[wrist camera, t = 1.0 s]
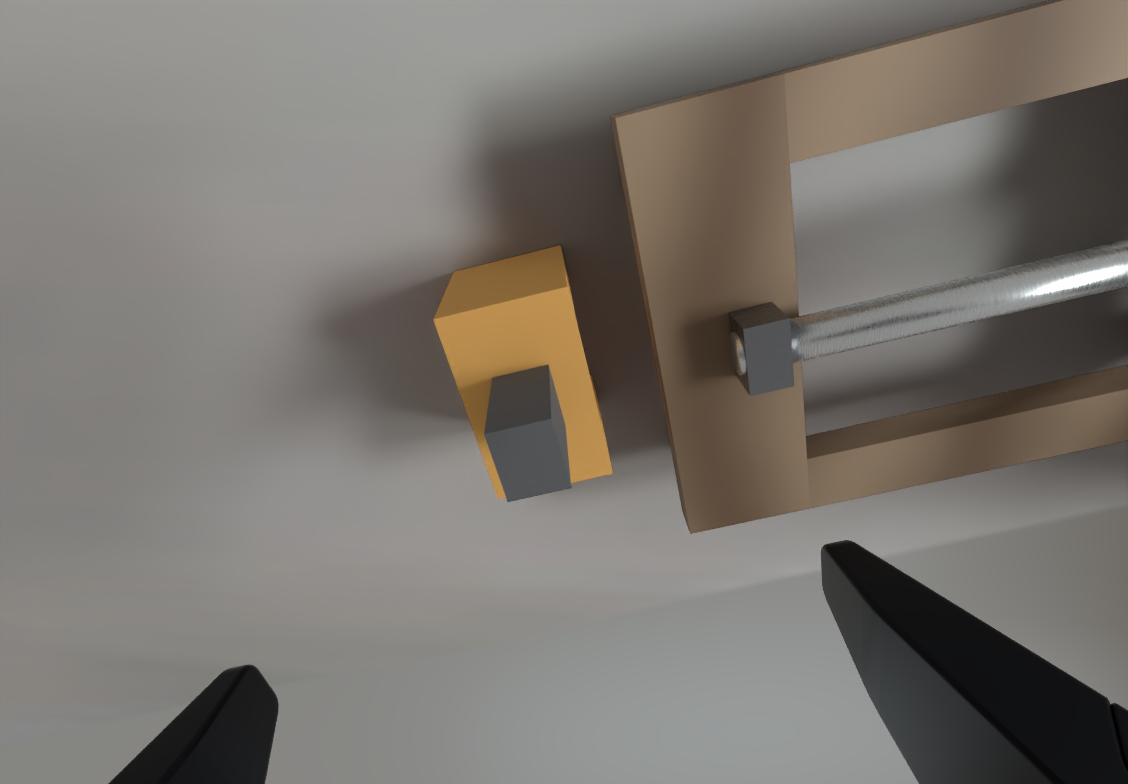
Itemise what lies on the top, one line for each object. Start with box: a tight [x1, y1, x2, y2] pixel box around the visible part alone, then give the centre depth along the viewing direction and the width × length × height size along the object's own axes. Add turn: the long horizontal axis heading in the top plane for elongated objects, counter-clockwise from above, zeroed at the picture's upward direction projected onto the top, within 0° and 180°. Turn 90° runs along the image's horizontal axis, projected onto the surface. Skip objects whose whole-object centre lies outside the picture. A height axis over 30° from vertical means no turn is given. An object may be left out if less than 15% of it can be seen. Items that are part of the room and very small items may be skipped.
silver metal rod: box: [728, 239, 1128, 396], centre depth 16 cm, size 16×2×1 cm, turn 103°
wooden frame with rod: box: [610, 0, 1128, 534], centre depth 18 cm, size 20×13×4 cm, turn 103°
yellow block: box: [433, 245, 613, 502], centre depth 17 cm, size 4×6×8 cm, turn 13°
